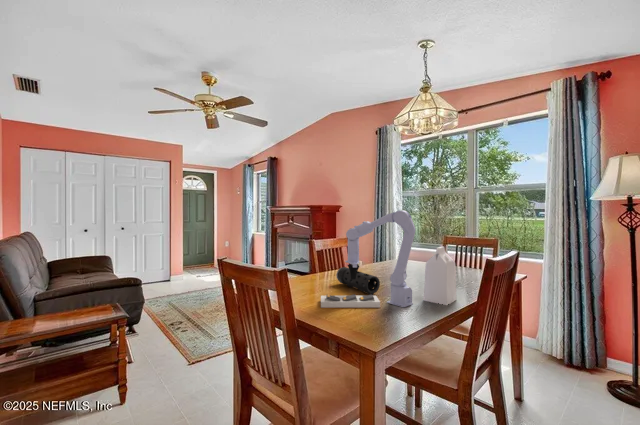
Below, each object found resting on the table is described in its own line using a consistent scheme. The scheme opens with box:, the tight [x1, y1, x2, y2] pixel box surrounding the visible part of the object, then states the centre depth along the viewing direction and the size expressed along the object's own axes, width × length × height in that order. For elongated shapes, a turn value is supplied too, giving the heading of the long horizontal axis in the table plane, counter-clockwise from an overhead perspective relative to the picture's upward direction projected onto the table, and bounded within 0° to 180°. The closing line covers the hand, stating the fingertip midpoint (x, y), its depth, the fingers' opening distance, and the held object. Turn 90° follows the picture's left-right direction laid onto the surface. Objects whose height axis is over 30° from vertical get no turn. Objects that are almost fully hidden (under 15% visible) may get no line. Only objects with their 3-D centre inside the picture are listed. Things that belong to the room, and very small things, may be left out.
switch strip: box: [320, 295, 381, 308], centre depth 145 cm, size 27×10×3 cm, turn 90°
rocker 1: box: [325, 294, 339, 301], centre depth 144 cm, size 6×4×1 cm, turn 90°
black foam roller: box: [335, 266, 381, 296], centre depth 171 cm, size 10×28×10 cm, turn 32°
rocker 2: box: [360, 294, 374, 301], centre depth 144 cm, size 6×4×1 cm, turn 90°
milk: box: [422, 246, 457, 306], centre depth 151 cm, size 12×12×26 cm
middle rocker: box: [343, 294, 357, 301], centre depth 144 cm, size 6×4×1 cm, turn 90°
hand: (353, 279), depth 155 cm, fingers closed
